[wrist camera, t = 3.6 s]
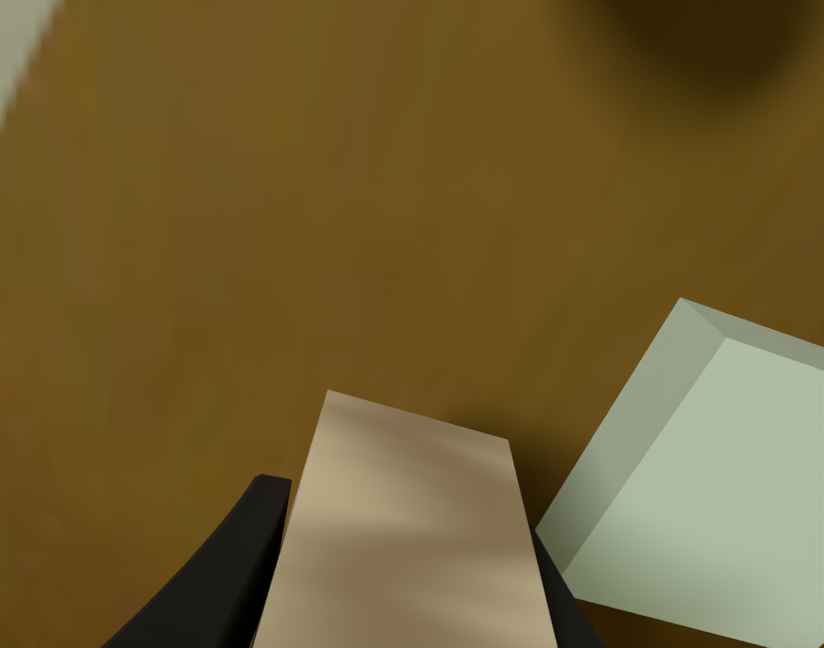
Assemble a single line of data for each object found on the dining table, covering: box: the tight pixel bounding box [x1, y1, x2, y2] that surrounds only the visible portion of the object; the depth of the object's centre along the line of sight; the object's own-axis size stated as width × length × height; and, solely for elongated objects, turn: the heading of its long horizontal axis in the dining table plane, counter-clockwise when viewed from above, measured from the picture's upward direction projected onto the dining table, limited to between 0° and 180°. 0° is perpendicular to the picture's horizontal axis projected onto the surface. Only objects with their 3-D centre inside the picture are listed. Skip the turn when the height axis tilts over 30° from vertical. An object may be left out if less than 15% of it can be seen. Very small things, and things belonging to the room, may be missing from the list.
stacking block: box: [535, 298, 824, 648], centre depth 17 cm, size 10×10×3 cm
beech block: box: [251, 390, 557, 648], centre depth 9 cm, size 4×4×6 cm
